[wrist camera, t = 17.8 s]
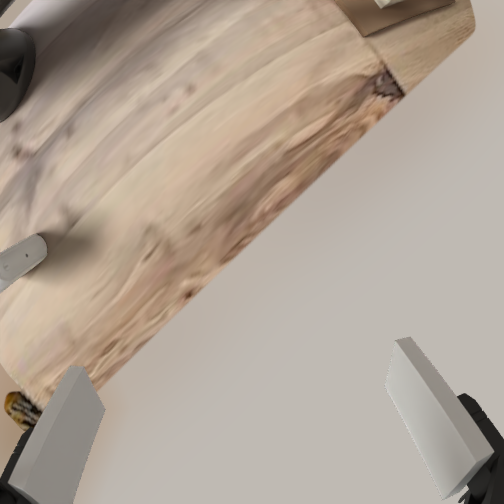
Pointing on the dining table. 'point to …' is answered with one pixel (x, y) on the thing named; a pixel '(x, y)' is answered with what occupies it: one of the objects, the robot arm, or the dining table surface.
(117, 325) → the dining table surface
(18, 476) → the robot arm
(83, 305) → the dining table surface
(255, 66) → the dining table surface
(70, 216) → the dining table surface
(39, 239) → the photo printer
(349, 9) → the stand
